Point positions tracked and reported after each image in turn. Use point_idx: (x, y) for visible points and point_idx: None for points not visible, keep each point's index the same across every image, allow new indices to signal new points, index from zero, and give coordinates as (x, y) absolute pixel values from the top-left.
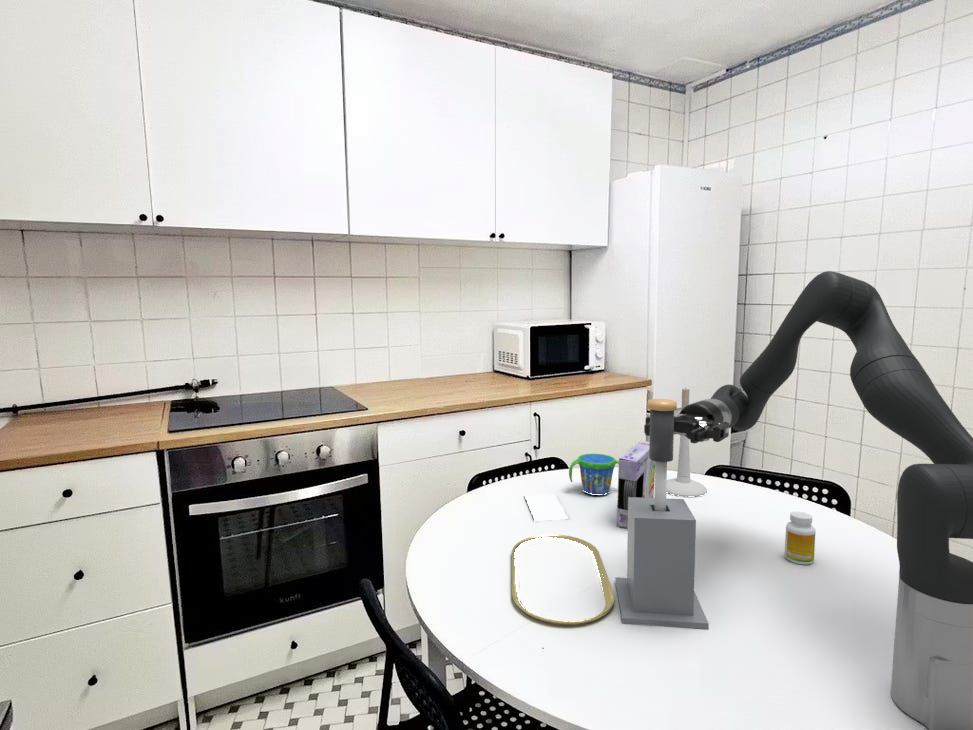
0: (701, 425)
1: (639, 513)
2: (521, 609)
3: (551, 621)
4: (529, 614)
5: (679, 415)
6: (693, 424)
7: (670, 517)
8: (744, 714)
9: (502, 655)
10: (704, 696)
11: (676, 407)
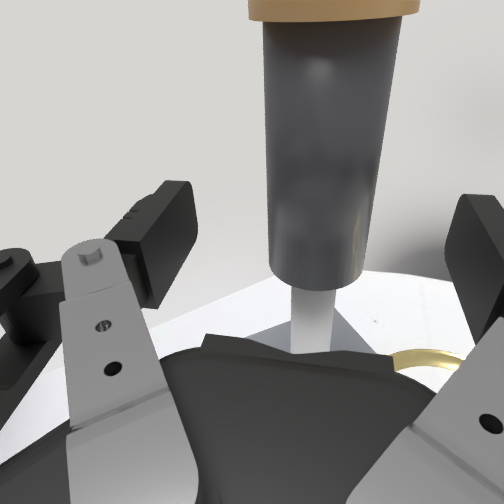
0: (117, 273)
1: (336, 329)
2: (457, 356)
3: (400, 351)
4: (437, 351)
5: (445, 455)
6: (193, 348)
7: (259, 341)
8: (153, 334)
9: (398, 295)
10: (192, 337)
11: (248, 5)
